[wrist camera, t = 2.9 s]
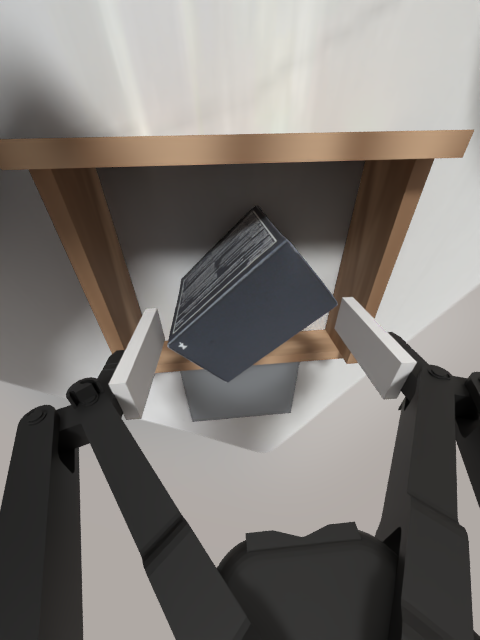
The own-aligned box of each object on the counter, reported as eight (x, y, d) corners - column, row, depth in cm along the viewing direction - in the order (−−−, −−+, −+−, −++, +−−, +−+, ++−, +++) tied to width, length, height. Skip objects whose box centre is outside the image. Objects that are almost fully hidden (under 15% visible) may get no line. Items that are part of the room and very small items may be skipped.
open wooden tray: (142, 350, 29) (122, 406, 23) (71, 145, 17) (-14, 139, 11) (332, 336, 31) (364, 385, 24) (384, 138, 19) (474, 129, 12)
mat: (192, 418, 38) (192, 421, 38) (179, 360, 31) (178, 364, 30) (289, 409, 39) (290, 412, 39) (299, 351, 32) (300, 354, 31)
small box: (223, 315, 27) (227, 388, 19) (179, 279, 24) (159, 347, 16) (297, 253, 24) (343, 308, 15) (256, 201, 21) (285, 234, 12)
